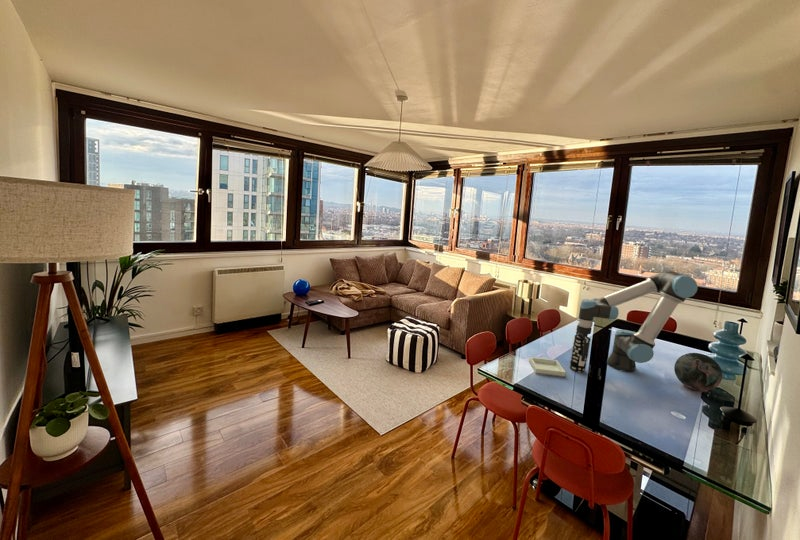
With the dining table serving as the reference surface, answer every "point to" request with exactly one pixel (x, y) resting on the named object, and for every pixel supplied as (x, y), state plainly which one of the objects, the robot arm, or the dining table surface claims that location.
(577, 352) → the spotted tube
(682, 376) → the decorative sphere
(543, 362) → the tray
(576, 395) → the dining table surface
